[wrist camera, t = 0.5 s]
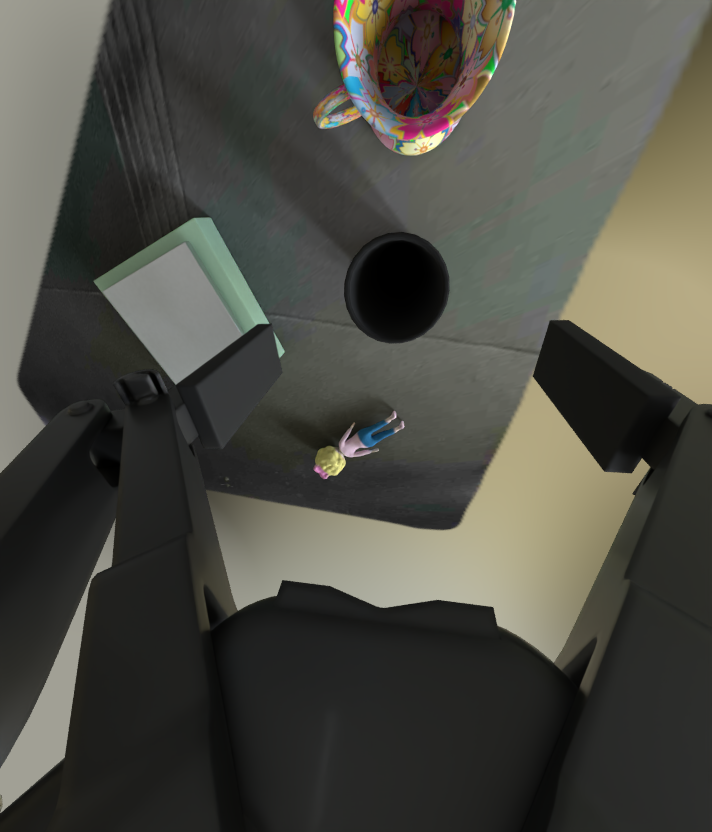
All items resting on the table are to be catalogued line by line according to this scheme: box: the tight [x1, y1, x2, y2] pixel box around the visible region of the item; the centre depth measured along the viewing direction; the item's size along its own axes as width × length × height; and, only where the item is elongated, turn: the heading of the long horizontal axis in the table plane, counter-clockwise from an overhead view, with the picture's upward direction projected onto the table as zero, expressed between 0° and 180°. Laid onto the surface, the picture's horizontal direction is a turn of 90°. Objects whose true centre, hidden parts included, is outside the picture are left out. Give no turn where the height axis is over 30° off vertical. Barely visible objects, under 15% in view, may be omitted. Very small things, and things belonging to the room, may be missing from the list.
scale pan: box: [102, 241, 245, 384], centre depth 35 cm, size 13×13×1 cm
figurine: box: [314, 411, 404, 479], centre depth 44 cm, size 6×4×15 cm
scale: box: [94, 217, 285, 382], centre depth 37 cm, size 16×17×3 cm
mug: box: [313, 0, 516, 155], centre depth 20 cm, size 12×9×11 cm
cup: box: [344, 232, 449, 343], centre depth 27 cm, size 8×8×12 cm
